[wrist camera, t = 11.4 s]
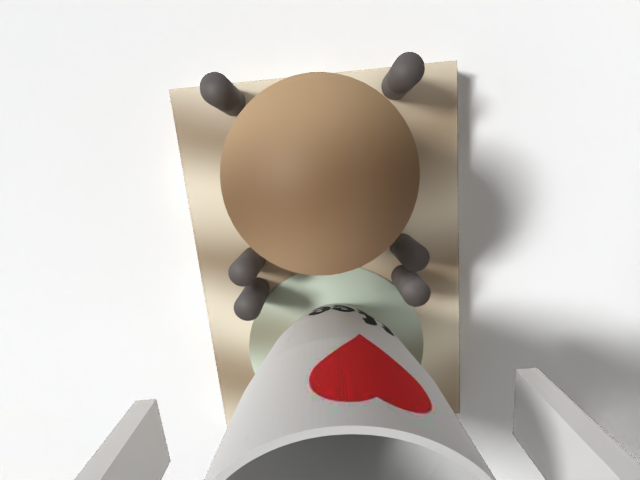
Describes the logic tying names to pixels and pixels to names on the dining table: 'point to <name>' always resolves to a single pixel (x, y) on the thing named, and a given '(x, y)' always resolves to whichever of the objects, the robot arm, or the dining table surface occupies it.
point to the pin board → (346, 288)
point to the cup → (344, 410)
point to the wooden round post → (319, 173)
